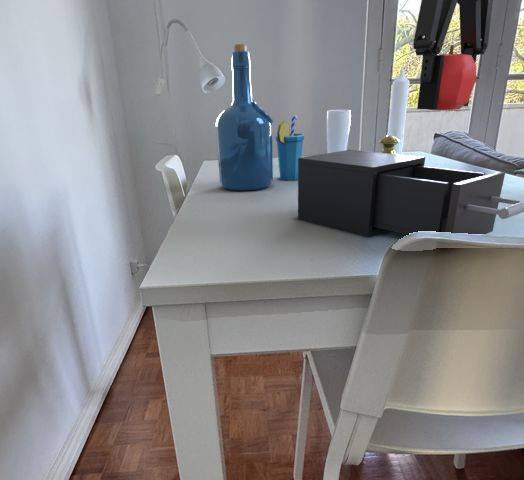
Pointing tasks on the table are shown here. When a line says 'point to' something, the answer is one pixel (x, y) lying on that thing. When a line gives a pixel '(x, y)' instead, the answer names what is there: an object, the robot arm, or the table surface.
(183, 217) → the table surface
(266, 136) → the wine bottle
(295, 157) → the cup
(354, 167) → the cabinet
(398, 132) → the candle
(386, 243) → the table surface
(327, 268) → the table surface
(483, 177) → the drawer
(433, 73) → the robot arm
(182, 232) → the table surface
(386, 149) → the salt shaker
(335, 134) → the drinking glass
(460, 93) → the apple
